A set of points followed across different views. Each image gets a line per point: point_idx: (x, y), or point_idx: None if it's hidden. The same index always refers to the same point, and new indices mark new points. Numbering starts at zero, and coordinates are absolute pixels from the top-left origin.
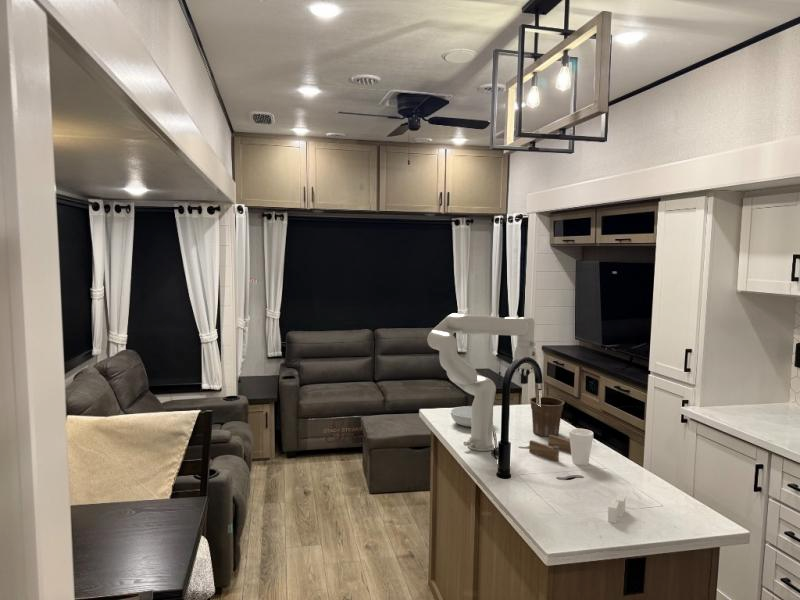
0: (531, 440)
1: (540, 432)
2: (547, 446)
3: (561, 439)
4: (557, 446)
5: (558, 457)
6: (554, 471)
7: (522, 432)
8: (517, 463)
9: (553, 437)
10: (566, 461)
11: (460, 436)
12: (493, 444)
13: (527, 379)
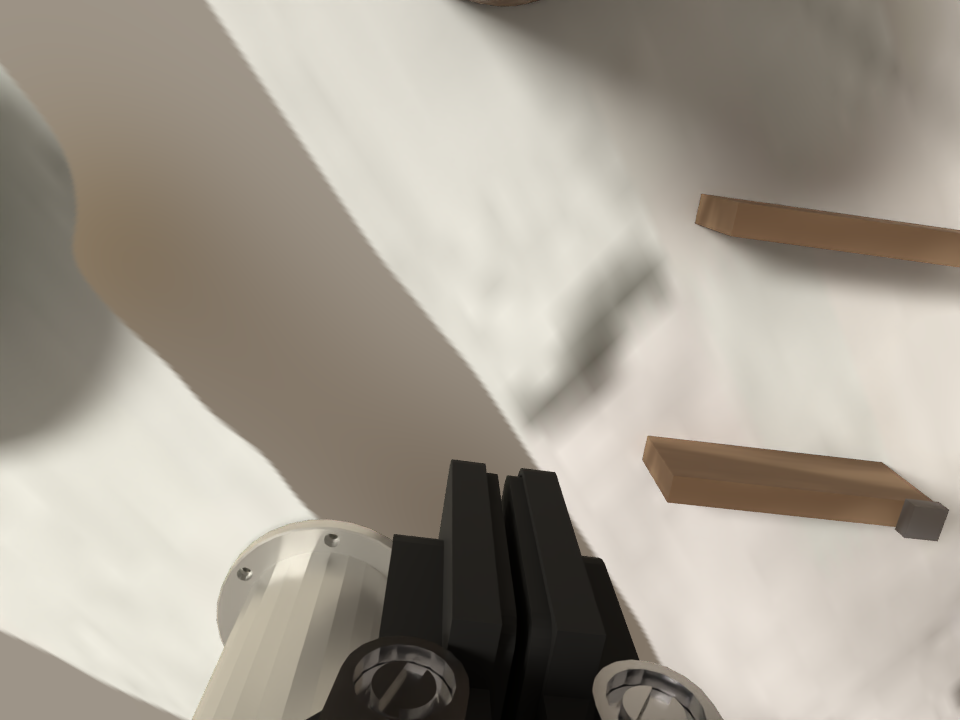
0: (675, 483)
1: (516, 2)
2: (841, 517)
3: (871, 254)
4: (933, 509)
5: (896, 476)
6: (919, 633)
7: (318, 30)
8: None
9: (782, 241)
10: (931, 434)
11: (48, 540)
12: (388, 566)
13: (609, 616)
